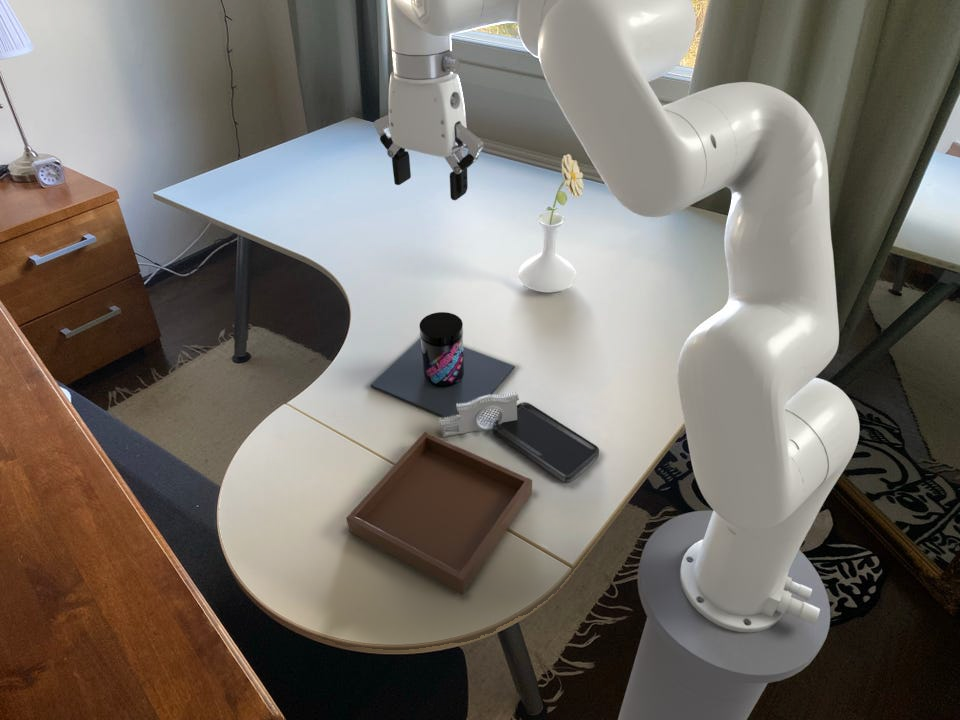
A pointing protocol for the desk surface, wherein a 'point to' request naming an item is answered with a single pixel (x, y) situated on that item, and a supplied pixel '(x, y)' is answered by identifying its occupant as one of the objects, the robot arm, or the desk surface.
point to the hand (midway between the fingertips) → (430, 188)
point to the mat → (415, 389)
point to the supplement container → (442, 348)
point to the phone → (547, 442)
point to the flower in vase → (553, 241)
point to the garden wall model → (472, 411)
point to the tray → (441, 510)
